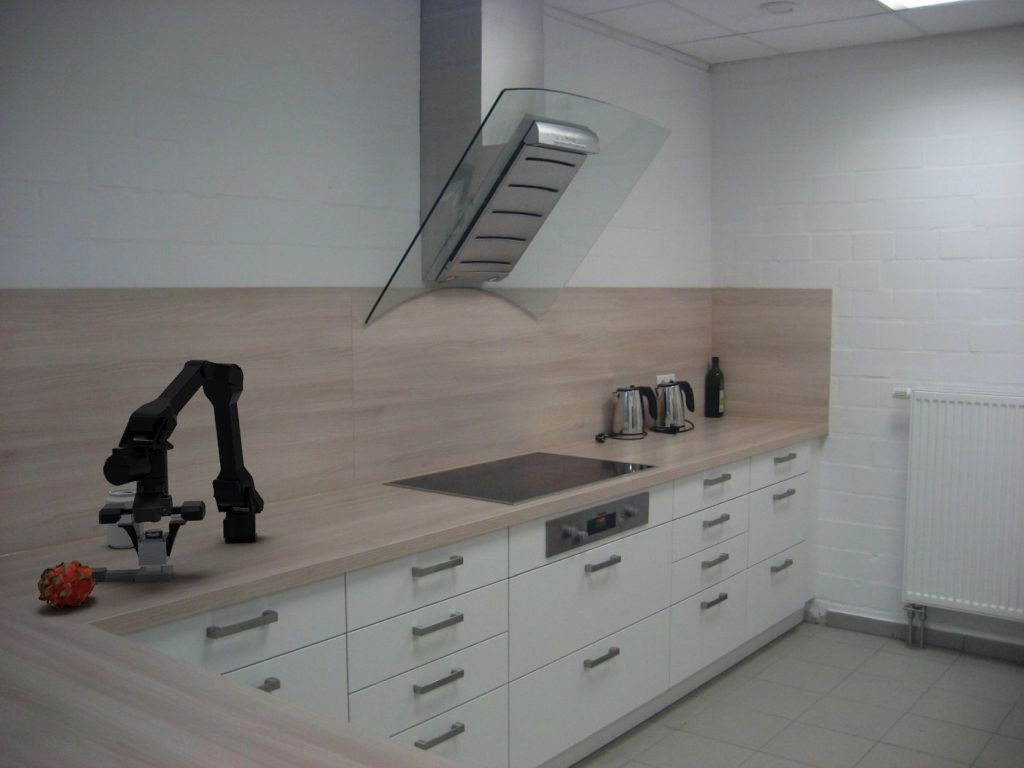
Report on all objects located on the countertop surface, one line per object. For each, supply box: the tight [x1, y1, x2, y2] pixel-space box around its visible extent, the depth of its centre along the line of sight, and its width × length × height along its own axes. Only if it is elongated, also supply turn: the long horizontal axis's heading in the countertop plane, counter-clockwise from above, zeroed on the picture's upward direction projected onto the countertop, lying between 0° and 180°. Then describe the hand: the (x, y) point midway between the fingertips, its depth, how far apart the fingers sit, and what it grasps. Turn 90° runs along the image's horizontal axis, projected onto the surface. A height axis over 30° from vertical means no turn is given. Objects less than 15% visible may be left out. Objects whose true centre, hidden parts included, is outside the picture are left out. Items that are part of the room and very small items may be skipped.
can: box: [105, 487, 145, 549], centre depth 216 cm, size 8×8×12 cm
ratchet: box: [90, 564, 175, 584], centre depth 191 cm, size 20×6×4 cm, turn 100°
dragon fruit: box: [37, 560, 98, 610], centre depth 176 cm, size 8×8×12 cm
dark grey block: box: [137, 528, 171, 567], centre depth 192 cm, size 5×5×6 cm
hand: (154, 556), depth 193 cm, fingers closed on dark grey block, 5 cm apart
